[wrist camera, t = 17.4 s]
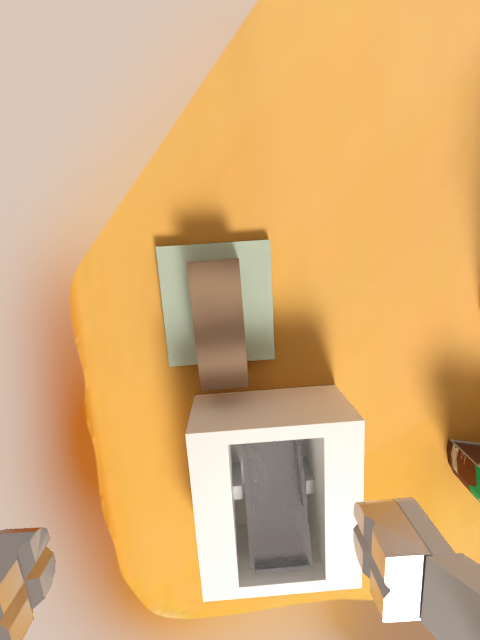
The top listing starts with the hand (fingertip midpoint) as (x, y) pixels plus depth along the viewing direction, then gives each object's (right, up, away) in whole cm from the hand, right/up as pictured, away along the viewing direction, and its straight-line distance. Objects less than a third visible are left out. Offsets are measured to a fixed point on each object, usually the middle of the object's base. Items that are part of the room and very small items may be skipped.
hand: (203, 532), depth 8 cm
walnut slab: (-1, +6, +21) cm, 21 cm away
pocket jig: (+4, -9, +25) cm, 27 cm away
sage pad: (-1, +7, +21) cm, 22 cm away
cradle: (+4, -10, +21) cm, 24 cm away
